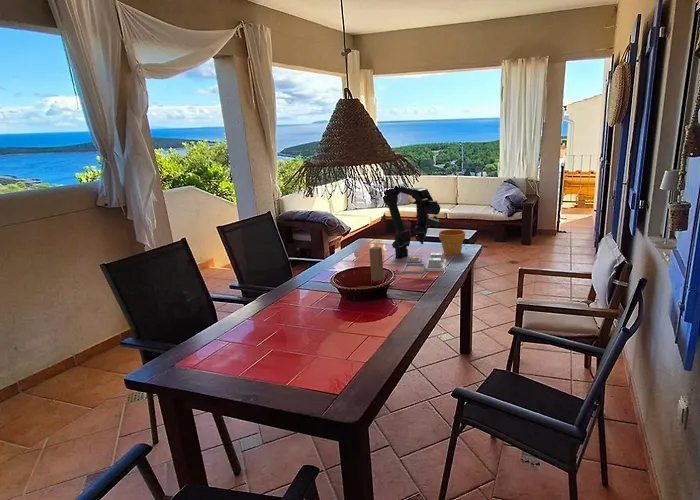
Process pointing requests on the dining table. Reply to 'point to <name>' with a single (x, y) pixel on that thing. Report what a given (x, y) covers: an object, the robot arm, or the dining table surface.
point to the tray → (414, 271)
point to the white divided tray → (443, 265)
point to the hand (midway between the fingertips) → (423, 241)
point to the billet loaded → (437, 256)
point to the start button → (414, 258)
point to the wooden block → (376, 264)
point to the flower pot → (452, 241)
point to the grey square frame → (414, 261)
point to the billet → (434, 262)
